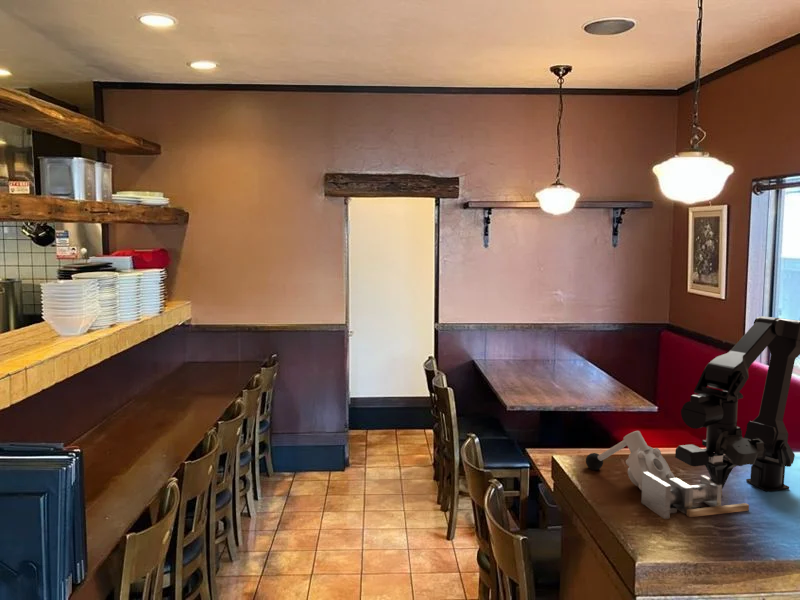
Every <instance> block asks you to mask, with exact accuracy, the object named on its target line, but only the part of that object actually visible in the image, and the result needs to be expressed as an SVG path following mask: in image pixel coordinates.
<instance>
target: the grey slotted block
mask: <svg viewBox="0 0 800 600" xmlns="http://www.w3.org/2000/svg"><path fill="white" fill-rule="evenodd" d="M673 479H675V480H677V481H679V482H680V483H682V484H684V485H685V486H687V487H689V488H690V493H689V509H693V504H694V503H704V504H707V506H708V507H715V506H722V496H721V494H722V495H723V489H722V484H720V483H718V482H716V481H714V480H712V479H711V477H709V476H707V475H706V474H701V475H700V479H699V480H700V483H699V484H693V485H691V484H688V483H687V482H685V481H683V480H682V479H680V478H678V477H674V478H673Z"/></svg>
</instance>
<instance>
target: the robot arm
mask: <svg viewBox="0 0 800 600" xmlns="http://www.w3.org/2000/svg"><path fill="white" fill-rule="evenodd" d="M766 348H767V349H768V351H769V354H770V358H769V362H768V367H767V373H766V377H765V383H764V388H763V393H762V398H761V403H760V408H759V413H758V416H756V418H755V417H754V419H753V420H752V421H751V420H749V421H748V422H747V423H746V430H745V434H744V435H743V431H742V428H741V427H740V426H738V406H739V405H738V403H739V400H740V399H743V398H744V394H742V393H741V392H740V391H742V389H743V388H744V386H745V385H746V383H747V381H748V380H749V375H750V374H749V368H750V367H751V366H752V365H753V364H754V362H755V361H756V360H758V358H759V356H760V355H761V354H762V353H763V351H764V350H765V349H766ZM799 356H800V320H799V319H790V318H780V317H771V316H766V315H765V316H764V315H763V316H762V315H761V316H757V317H756V318H755V319H754V321H753V325H752V326H751V327H750V328H749V329H748V330H747V331H746V332H745V334H744V335H743V336H742V337H741V338H740V339H739V341H737V343H736V344H735V345H734V346H733V347H732V348H731V349H730V350H729V351H728V352H727V353H724V354H721V355H718V356H715V358H713V359H711V360H710V362H708V363H707V364H706V366H705V367H704V369H703V371H702V373H701V375H700V377H699V379H698V381H697V384H696V385H695V388H694V389H693V393H694V394H692V395H690V400H689V401H686V402H685V403H683V405H682V407H681V409H680V416H681V419H682V421H683V422H684V424H685V425H686V426H688V427H689V428H691V429H694V430H695V429H696V430H697V429H701V428H704V429H705V428H706V438H705V439H702V440H701V445H702V446H704V447H706V448H700V447H699V446H697V445H695V444H692V443H691V444H685V445H684V444H682V445H678V446H677V447H676V449H675V454H674V458H675V459H677V460H679V461H681V462H683V463H685V464H687V465H688V466H690V467H701V466H705V468H706V469H707V472H708V474H709V476H710V478H711V479H712V480H714V481H716V482H718V483H720V484H722V490H723V488H724V486H725V485H726V482H727V481H728V477H729V476H730V474H731V472H732V471H733V469H734V468H735V467H742V466H745V465H750V467H751V468H750V478H746V479H745V480H746V482H747V483H749V484H751V485H753V486H755V487H756V488H759V489H761V490H763V491H765V492H773V491H774V492H776V491H784V490H789V489H790V486H788V485H786V484H785V473H786V467H792V465H793V463H794V461H795V453H794V451H793V449H792V448H791V445H789V443H788V440H789V433H788V430H787V427H786V425H785V423H784V415H785V412H786V405H787V400H788V396H789V391H790V386H791V380H792V377H793V376H792V375H793V372H794V366H795V361H796V359H797V358H798V357H799Z"/></svg>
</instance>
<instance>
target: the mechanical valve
mask: <svg viewBox="0 0 800 600" xmlns="http://www.w3.org/2000/svg"><path fill="white" fill-rule="evenodd" d="M626 447H627V448H628V450H629V452H630V453H629V455H628V457H627V459H626V460H625V465H627V466H628V468H627V475H628V478H629V479H630V481H631V483H632V484H634V485H635V486H636V487H637V488H639V490H640V491H642V478H643V472H649V473H651V474H652V475H654V476H656V477H657V478H659V479H661V480H662V481H664V482H666V483H667V484H669V479H671V478H675V474H674V473H673V472H672V471H671V468H670V465H669V464H668V462H667V461H666V459H665V458H664V457H663V455H662V451H661V449H659V447H651V446H649V445H648V444H647V442H646V441H645V438H644V437H643V435H642V433H641V431H640V430H635V431H632V432H630V433H628V434H626V435H625V436H623V439H622V441H620V442H618V443H617V444H615V445H613V446H611V447H610V448H609V449H606V450H605V451H604V452H602V453H601V454H599V453H596V452H592V453H589V454H588V455H587V456H586V458H585V464H586V466H587V467H588V469H590V470H591V471H598V470H601V468H602V467H603V465H604V460H605V459H607V458H609V457H611V456H612V455H614V454H616V453H617V452H619V451H621V450H622V449H624V448H626Z"/></svg>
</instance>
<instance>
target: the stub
mask: <svg viewBox="0 0 800 600" xmlns="http://www.w3.org/2000/svg"><path fill="white" fill-rule="evenodd" d="M689 493H690V488H689V487H687V486H685V485H684V484H682V483H680V482H679V481H677V480H675V479H673V478H671V479H669V484H667V483H666V482H664V481H662V480H661V479H659V478H657V477H656V476H654V475H652V474H651V473H649V472H643V478H642V490H641V500H640V501H641V502H640V503H641V504H642V505H643V506H645V507H647V508H648V510H649V509H650V511H652V512H654V513H655V514H657V515H658V516H659V517H661V518H662V519H664V520H666V519H670V514H677V512H678V511H680V513H683V514H687V510H688V509H689Z"/></svg>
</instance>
